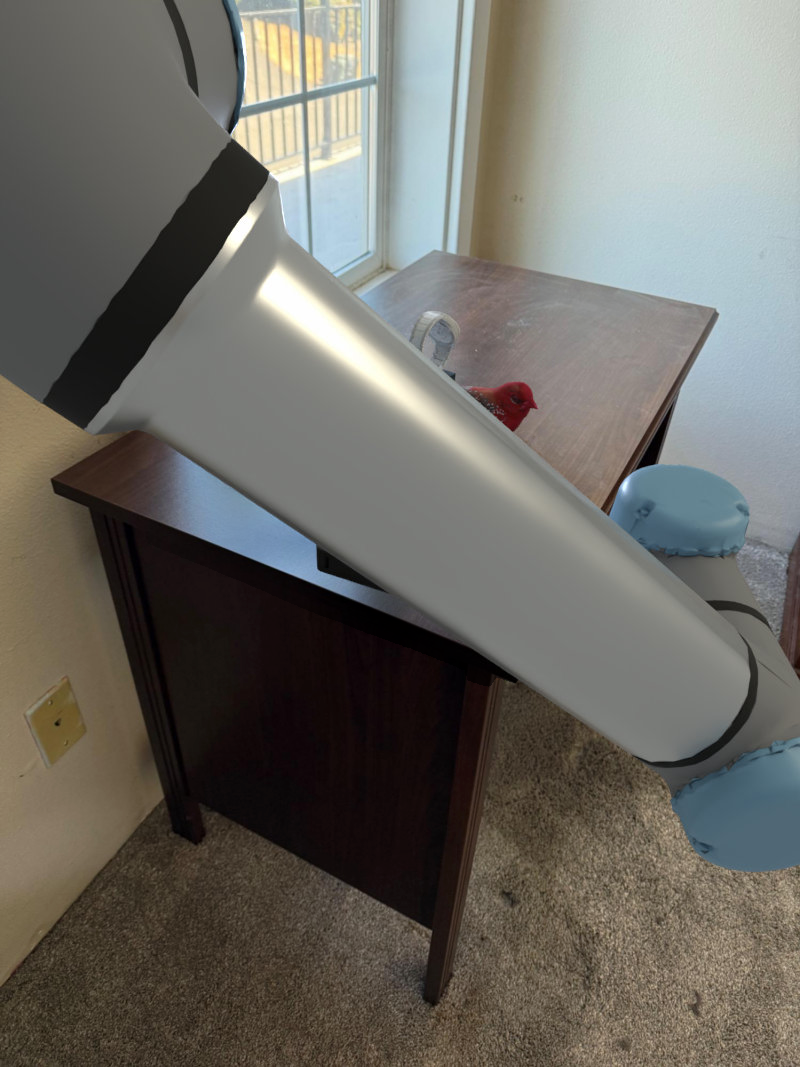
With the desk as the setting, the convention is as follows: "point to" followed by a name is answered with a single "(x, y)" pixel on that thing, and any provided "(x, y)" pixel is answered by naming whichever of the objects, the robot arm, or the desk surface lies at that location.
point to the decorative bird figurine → (505, 401)
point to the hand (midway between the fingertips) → (357, 474)
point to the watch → (436, 336)
